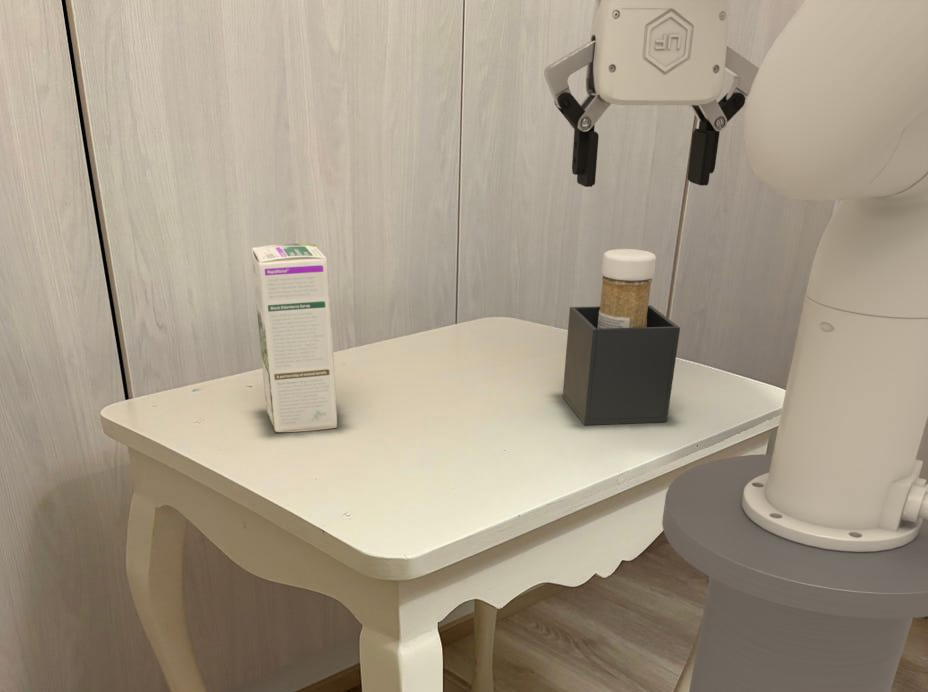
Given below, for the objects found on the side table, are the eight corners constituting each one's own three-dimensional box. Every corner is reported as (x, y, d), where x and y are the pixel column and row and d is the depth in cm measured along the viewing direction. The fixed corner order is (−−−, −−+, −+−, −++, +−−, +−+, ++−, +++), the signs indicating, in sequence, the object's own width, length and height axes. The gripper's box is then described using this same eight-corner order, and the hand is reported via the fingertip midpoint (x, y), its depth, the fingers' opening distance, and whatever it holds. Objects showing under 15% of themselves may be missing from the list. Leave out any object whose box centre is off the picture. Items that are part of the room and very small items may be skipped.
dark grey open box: (639, 394, 97) (651, 305, 92) (667, 422, 90) (680, 327, 86) (562, 397, 96) (569, 306, 91) (584, 425, 89) (593, 329, 85)
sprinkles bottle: (647, 408, 92) (667, 255, 85) (606, 414, 90) (623, 259, 83) (619, 393, 96) (636, 245, 88) (579, 399, 94) (593, 249, 87)
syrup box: (339, 428, 87) (332, 255, 80) (272, 434, 86) (258, 258, 78) (327, 407, 92) (319, 241, 84) (263, 412, 91) (249, 244, 83)
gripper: (565, -76, 69) (550, 191, 78) (799, -71, 71) (759, 188, 80) (541, -67, 76) (530, 180, 84) (756, -62, 78) (723, 177, 87)
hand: (641, 184), depth 82 cm, fingers open, 9 cm apart
